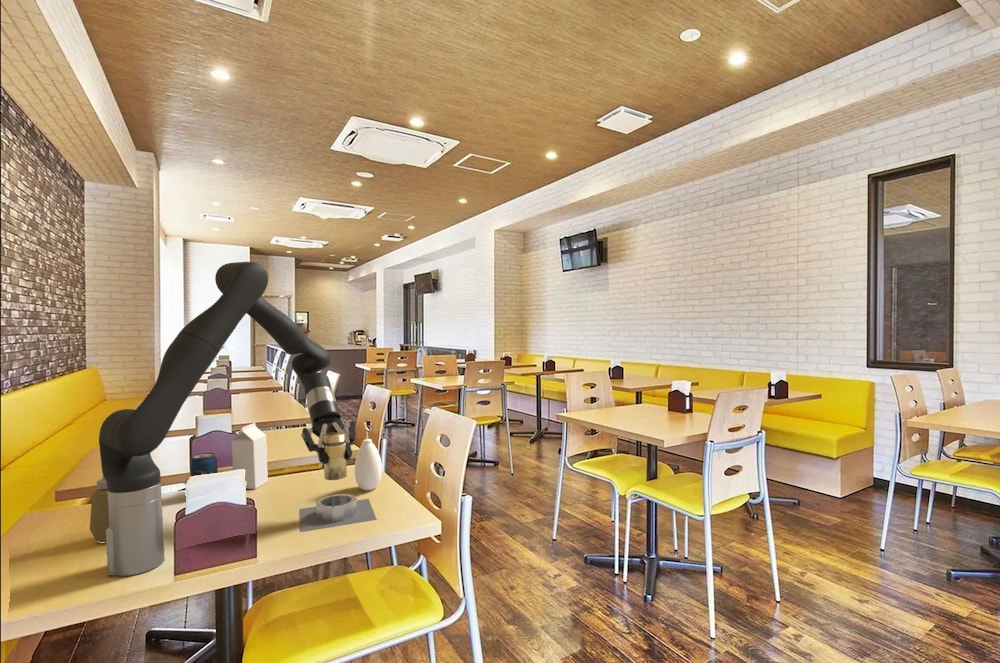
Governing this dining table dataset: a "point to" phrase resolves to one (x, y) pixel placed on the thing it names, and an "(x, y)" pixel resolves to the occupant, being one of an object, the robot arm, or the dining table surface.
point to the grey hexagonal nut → (336, 507)
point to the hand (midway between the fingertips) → (337, 460)
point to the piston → (335, 455)
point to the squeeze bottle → (99, 511)
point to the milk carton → (251, 455)
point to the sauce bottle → (368, 466)
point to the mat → (312, 523)
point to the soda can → (203, 464)
